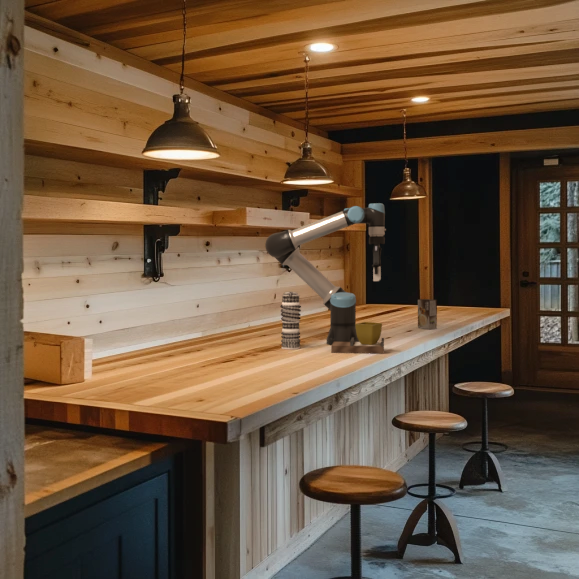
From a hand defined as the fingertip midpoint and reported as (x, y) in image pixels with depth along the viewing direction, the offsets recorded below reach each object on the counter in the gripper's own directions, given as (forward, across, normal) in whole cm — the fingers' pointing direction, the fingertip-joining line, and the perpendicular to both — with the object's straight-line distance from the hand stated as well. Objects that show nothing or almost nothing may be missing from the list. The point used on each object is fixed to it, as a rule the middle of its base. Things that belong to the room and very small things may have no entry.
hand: (377, 280), depth 353 cm
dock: (+29, -38, +6) cm, 48 cm away
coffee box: (+29, +58, -24) cm, 69 cm away
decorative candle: (+28, -34, +36) cm, 57 cm away
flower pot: (+26, -39, +2) cm, 47 cm away
